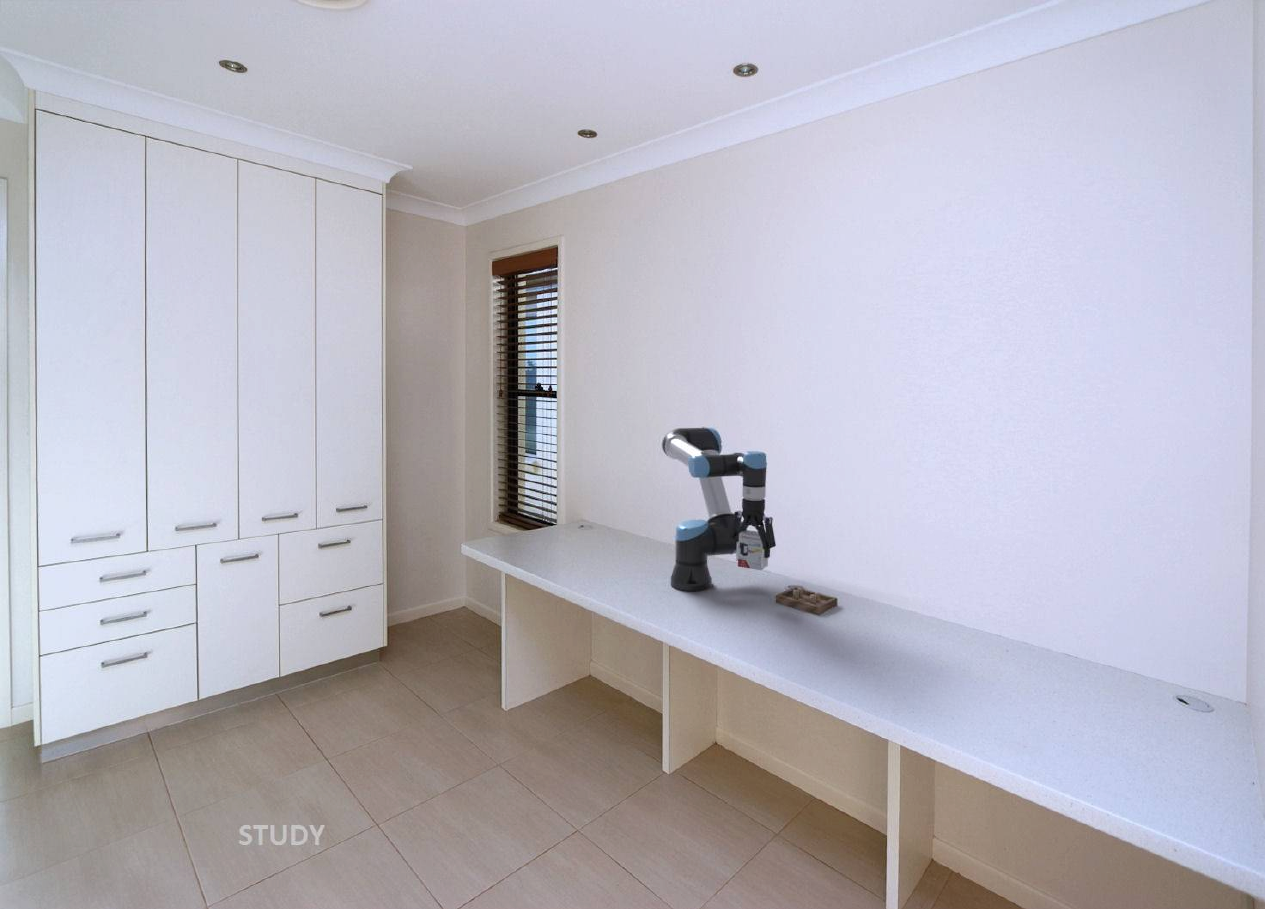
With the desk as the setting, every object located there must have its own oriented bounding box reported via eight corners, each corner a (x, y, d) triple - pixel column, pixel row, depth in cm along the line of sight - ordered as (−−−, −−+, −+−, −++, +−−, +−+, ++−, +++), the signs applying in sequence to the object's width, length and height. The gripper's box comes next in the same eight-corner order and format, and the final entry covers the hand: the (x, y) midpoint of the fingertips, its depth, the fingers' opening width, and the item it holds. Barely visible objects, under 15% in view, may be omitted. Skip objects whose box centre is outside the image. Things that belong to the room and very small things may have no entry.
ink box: (737, 566, 208) (737, 532, 207) (741, 562, 213) (742, 529, 211) (761, 570, 204) (763, 536, 203) (766, 566, 209) (767, 532, 207)
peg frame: (775, 602, 209) (776, 590, 209) (794, 593, 217) (795, 582, 217) (818, 615, 198) (819, 602, 197) (837, 605, 206) (837, 593, 206)
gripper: (720, 494, 211) (718, 558, 214) (775, 505, 195) (773, 573, 198) (733, 491, 216) (732, 553, 219) (788, 501, 200) (786, 568, 203)
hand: (751, 563), depth 208 cm, fingers closed on ink box, 9 cm apart
